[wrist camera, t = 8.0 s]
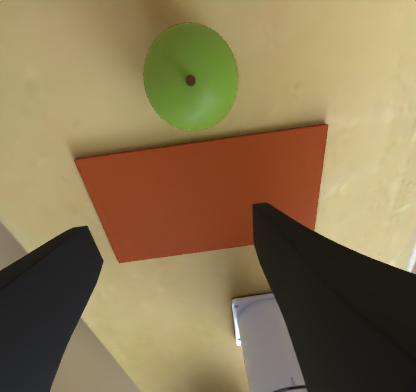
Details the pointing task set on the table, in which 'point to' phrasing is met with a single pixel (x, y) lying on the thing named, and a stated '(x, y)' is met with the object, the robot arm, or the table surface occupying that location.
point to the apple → (190, 76)
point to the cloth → (203, 190)
